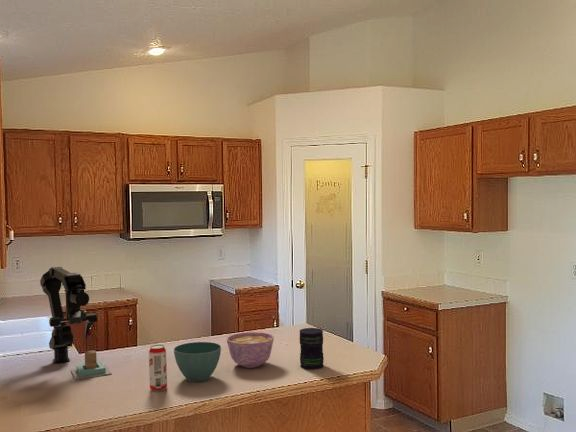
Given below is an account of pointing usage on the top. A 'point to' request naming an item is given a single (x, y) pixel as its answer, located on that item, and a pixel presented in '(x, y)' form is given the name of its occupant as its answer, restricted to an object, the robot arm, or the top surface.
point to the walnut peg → (90, 359)
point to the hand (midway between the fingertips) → (74, 340)
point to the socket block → (90, 371)
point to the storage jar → (311, 348)
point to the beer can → (157, 368)
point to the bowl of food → (250, 348)
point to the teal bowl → (197, 359)
